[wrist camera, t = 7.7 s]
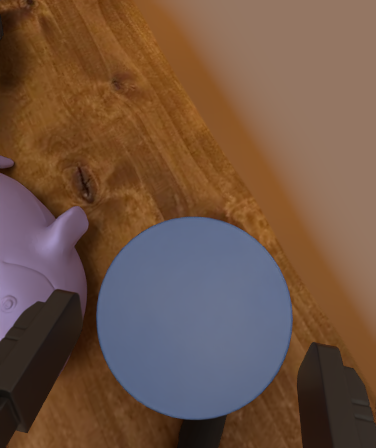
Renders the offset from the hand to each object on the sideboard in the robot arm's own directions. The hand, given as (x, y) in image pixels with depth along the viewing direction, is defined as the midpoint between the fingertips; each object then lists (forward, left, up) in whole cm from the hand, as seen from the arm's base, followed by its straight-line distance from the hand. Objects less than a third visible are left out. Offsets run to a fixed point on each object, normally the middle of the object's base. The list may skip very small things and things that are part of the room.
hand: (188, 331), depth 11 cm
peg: (0, -1, -9) cm, 9 cm away
